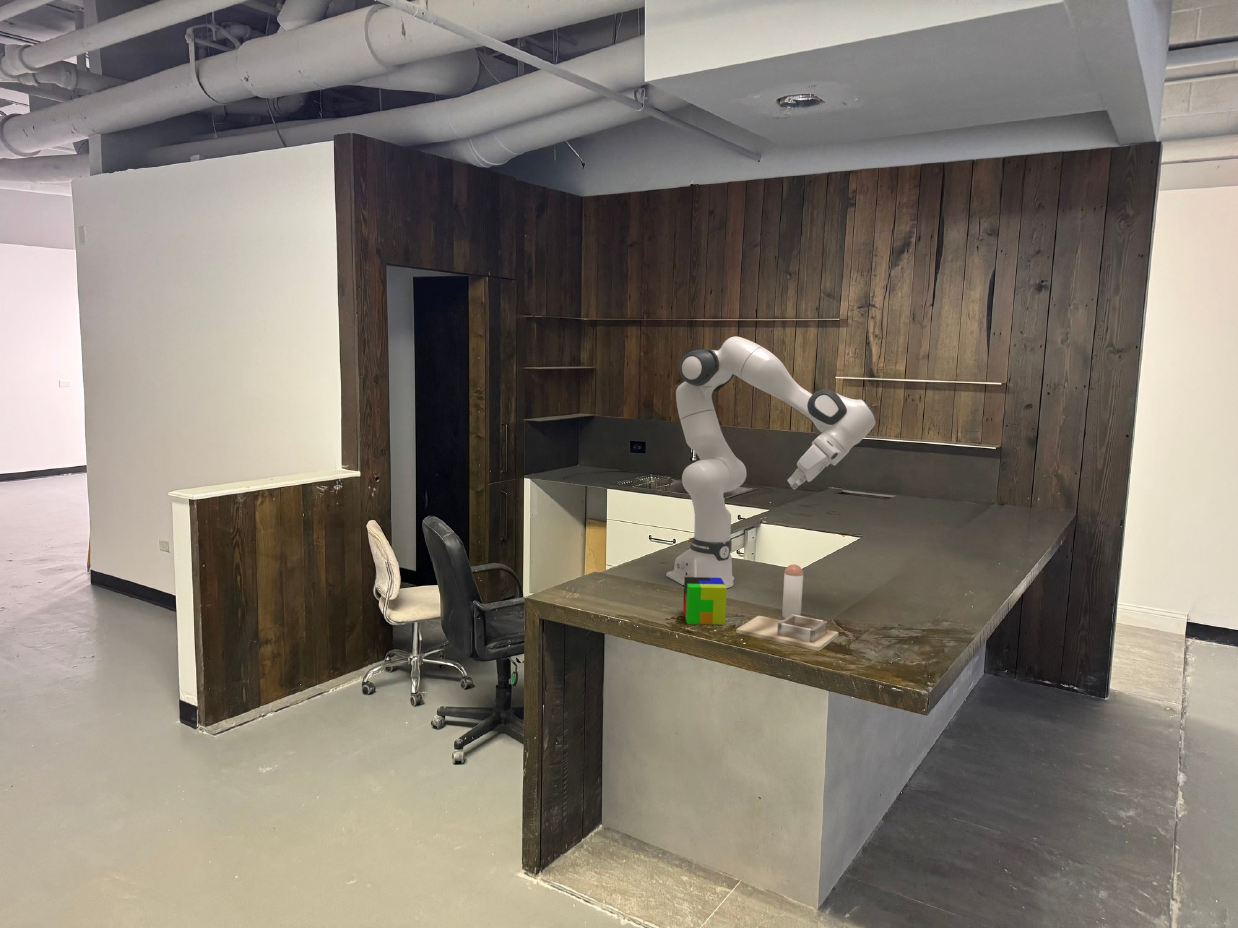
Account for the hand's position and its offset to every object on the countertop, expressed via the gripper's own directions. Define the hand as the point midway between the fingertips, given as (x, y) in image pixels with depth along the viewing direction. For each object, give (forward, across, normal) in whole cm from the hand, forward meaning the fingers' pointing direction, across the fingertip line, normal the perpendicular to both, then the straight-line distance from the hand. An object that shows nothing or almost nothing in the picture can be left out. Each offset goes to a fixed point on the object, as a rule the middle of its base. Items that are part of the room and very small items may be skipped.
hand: (790, 485), depth 234 cm
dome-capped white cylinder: (+25, -4, +25) cm, 36 cm away
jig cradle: (+28, +11, +28) cm, 41 cm away
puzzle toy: (+42, +6, +11) cm, 44 cm away
